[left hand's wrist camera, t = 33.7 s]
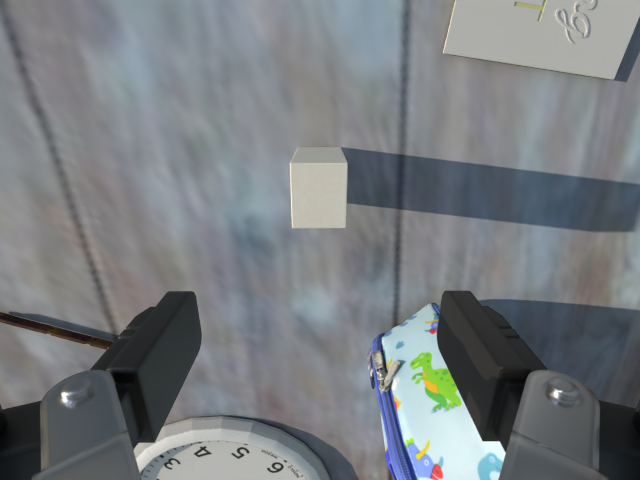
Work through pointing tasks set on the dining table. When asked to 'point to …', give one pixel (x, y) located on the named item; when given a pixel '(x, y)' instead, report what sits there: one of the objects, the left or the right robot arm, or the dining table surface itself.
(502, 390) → the left robot arm
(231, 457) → the wall clock
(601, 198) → the dining table surface
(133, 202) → the dining table surface
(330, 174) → the brick
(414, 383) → the lunch box
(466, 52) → the invitation card
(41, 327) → the brown stick
